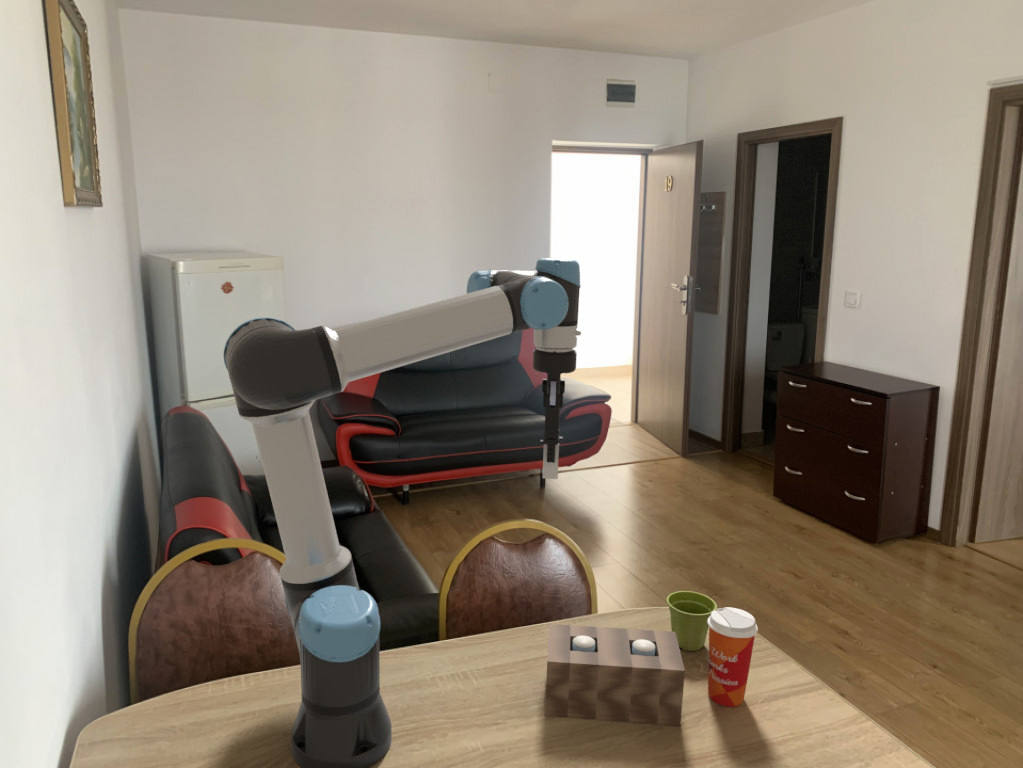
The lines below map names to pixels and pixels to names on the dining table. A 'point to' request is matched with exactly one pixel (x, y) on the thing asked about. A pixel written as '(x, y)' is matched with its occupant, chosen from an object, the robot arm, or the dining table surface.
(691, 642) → the plant pot
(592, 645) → the peg
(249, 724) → the dining table surface
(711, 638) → the coffee cup
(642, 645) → the peg
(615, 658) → the collar block
